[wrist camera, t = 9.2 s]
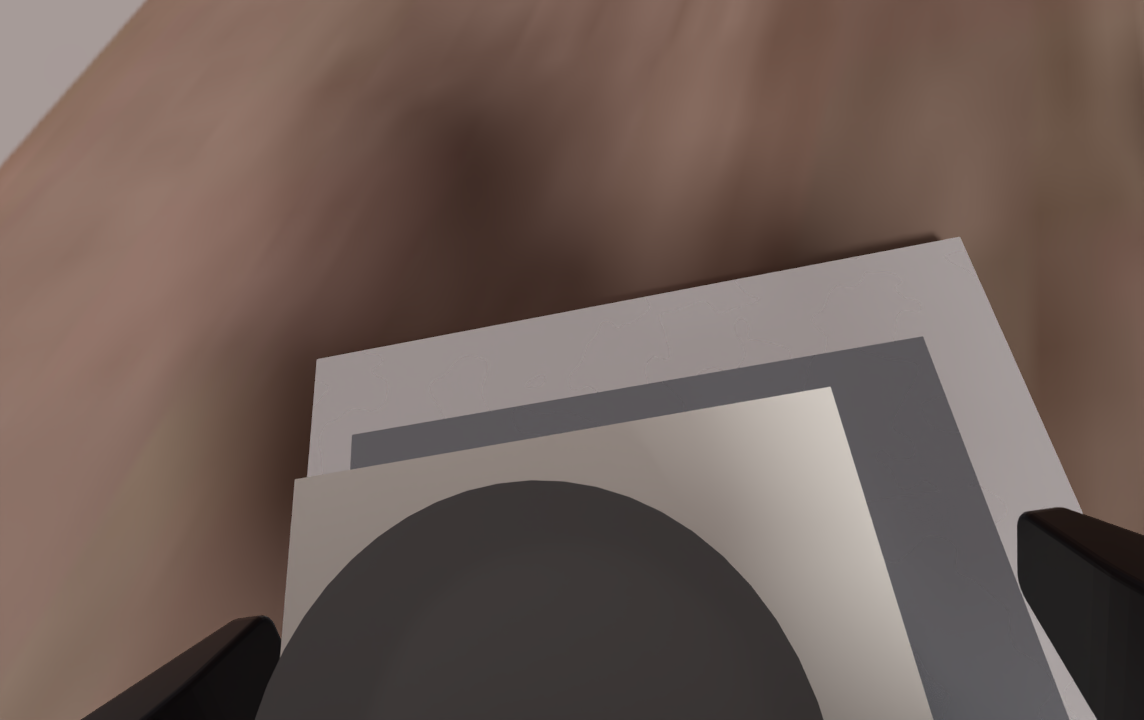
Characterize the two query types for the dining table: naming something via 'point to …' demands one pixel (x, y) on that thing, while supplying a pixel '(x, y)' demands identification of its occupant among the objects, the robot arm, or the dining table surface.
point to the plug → (600, 579)
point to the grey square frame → (772, 368)
